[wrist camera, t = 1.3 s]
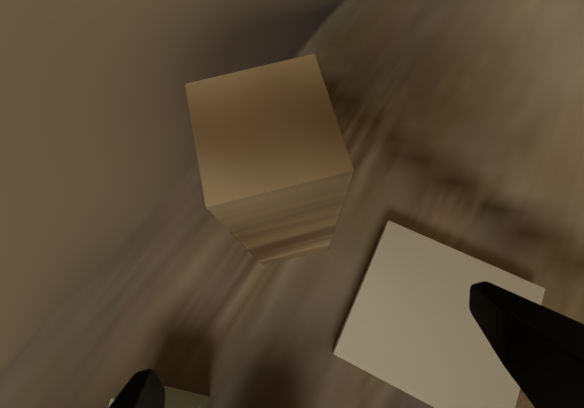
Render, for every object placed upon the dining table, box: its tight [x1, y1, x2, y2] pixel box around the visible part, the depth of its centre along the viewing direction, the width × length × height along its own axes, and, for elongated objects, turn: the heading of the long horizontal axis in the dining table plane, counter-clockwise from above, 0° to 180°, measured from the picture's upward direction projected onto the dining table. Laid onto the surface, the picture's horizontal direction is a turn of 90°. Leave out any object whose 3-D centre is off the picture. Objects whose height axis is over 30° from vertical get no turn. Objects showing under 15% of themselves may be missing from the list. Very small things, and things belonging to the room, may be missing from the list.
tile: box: [332, 220, 545, 408], centre depth 20 cm, size 10×9×1 cm
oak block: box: [185, 54, 354, 265], centre depth 16 cm, size 4×4×13 cm
